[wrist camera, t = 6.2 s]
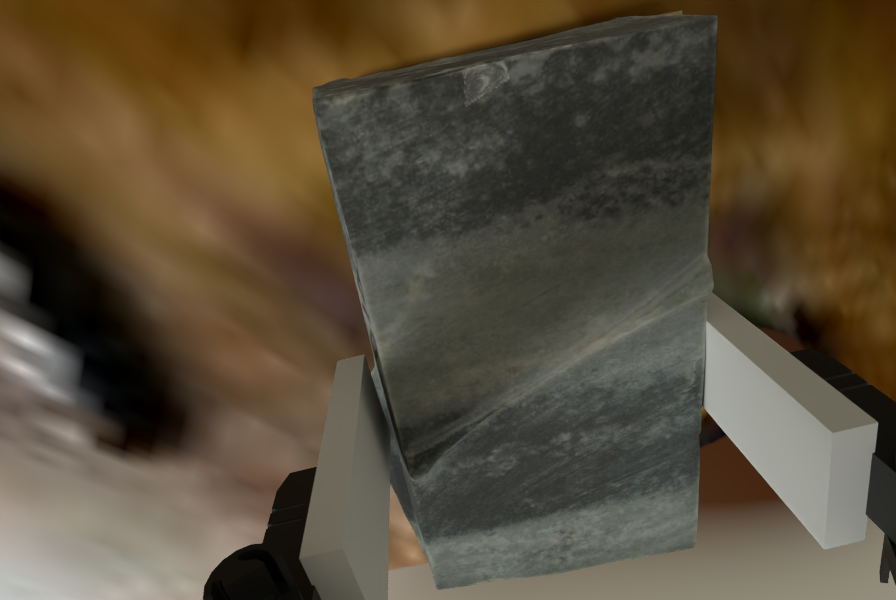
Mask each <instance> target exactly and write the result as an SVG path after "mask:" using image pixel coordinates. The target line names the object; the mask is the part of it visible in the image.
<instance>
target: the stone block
mask: <svg viewBox="0 0 896 600" xmlns="http://www.w3.org/2000/svg"><path fill="white" fill-rule="evenodd" d="M717 26H718V16H716V15H662V16H656V15H654V16H630V17H618V18H615V19H612V20H610V21H606V22H602V23H597V24H592V25H588V26H583V27H578V28H574V29H571V30H567V31H563V32H560V33H556V34H551V35H547V36H542V37H538V38H534V39H529V40H525V41H520V42H516V43H512V44H507V45H503V46H498V47H494V48H489V49H485V50H480V51H476V52H471V53H467V54H463V55H459V56H455V57H445V58H441V59H437V60H433V61H429V62H424V63H421V64H417V65H414V66H411V67H407V68H401V69H398V70H394V71H382V72H379V73H375V74H371V75H367V76H362V77H358V78H353V79H346V78H342V79H337V80H334V81H331V82H328V83H326V84H324V85H322V86H318V87H314V88H313V101H312V102H313V108H314V113H315V119H316V124H317V129H318V134H319V139H320V144H321V148H322V152H323V156H324V160H325V164H326V168H327V172H328V176H329V179H330V183H331V187H332V192H333V196H334V200H335V204H336V208H337V212H338V216H339V219H340V223H341V227H342V231H343V235H344V239H345V243H346V247H347V251H348V255H349V259H350V263H351V266H352V270H353V274H354V278H355V282H356V286H357V290H358V294H359V298H360V302H361V306H362V310H363V314H364V318H365V322H366V326H367V330H368V334H369V338H370V342H371V346H372V351H373V355H374V359H375V367H374V368H373V370H372V372H371V376H372V378H373V381H374V384H375V387H376V390H377V393H378V396H379V399H380V402H381V405H382V408H383V411H384V414H385V417H386V420H387V423H388V426H389V429H390V432H391V452H390V484H391V486H392V487H393V489H394V491H395V493H396V495H397V497H398V499H399V502H400V504H401V506H402V509H403V511H404V513H405V515H406V517H407V519H408V521H409V523H410V525H411V526H412V528H413V530H414V532H415V534H416V537H417V539H418V541H419V543H420V546H421V548H422V550H423V553H424V554H425V555H426V557H427V558H428V561H429V564H430V567H431V570H432V574H433V577H434V581H435V584H436V587H437V589H438V590H439V589H449V588H455V587H462V586H468V585H474V584H480V583H485V582H490V581H497V580H506V579H517V578H527V577H536V576H545V575H553V574H558V573H563V572H568V571H573V570H578V569H582V568H587V567H591V566H596V565H600V564H604V563H609V562H615V561H622V560H628V559H634V558H640V557H646V556H652V555H658V554H663V553H669V552H674V551H679V550H684V549H689V548H692V547H694V545H695V544H696V533H697V516H698V493H699V492H698V490H699V470H700V447H699V433H700V432H701V408H702V395H703V382H704V364H705V343H706V321H707V295H708V294H710V293H711V292H712V289H713V286H714V282H713V275H712V267H711V263H710V261H709V259H708V256H707V244H708V226H709V194H710V180H711V154H712V132H713V115H714V100H715V76H716V51H717Z"/></svg>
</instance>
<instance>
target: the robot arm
mask: <svg viewBox="0 0 896 600" xmlns="http://www.w3.org/2000/svg"><path fill="white" fill-rule="evenodd" d="M702 406H703V407H704V408H705V409H706V411H707V412H708V413H709V414H710V415H711V417H712V418H713V419H714V420H715V421H716V422H717V424H718V425H719V426H720V427H721V428H722V430H723V431H724V432H725V433H726V434H727V435H728V437H729V438H730V439H731V440H732V441H733V442H734V444H735V445H736V446H737V447H738V448H739V450H740V451H741V452H742V453H743V454H744V455H745V457H746V458H747V459H748V460H749V461H750V463H751V464H752V465H753V466H754V467H755V468H756V470H757V471H758V472H759V473H760V474H761V476H762V477H763V478H764V479H765V480H766V481H767V483H768V484H769V485H770V486H771V487H772V489H773V490H774V491H775V492H776V493H777V494H778V496H779V497H780V498H781V499H782V500H783V501H784V503H785V504H786V505H787V506H788V507H789V509H790V510H791V511H792V512H793V513H794V514H795V516H796V517H797V518H798V519H799V520H800V522H801V523H802V524H803V525H804V526H805V527H806V528H807V530H808V531H809V532H810V533H811V534H812V536H813V537H814V538H815V539H816V540H817V541H818V543H819V544H820V545H821V546H822V547H823V549H829V548H833V547H837V546H842V545H846V544H850V543H855V542H859V541H864V540H865V534H866V526H867V517H869V518H870V519H871V520H872V521H873V522H874V523H875V524H876V525H877V526H878V527H879V528H880V529H881V530H882V531H883V532H884V533H885V535H884V543H883V550H882V558H881V565H880V582H882V583H888V578H889V571H890V570H891V573H892V576H893V579H894V581H895V584H896V402H895V401H893V400H892V399H890V398H889V397H888V396H886V395H885V394H883V393H882V392H881V391H879V390H878V389H876V388H875V387H874V386H872V385H868V384H867V382H866V381H865V380H864V379H862V378H861V377H859V376H858V375H857V374H853V373H852V371H851V370H850V369H848V368H847V367H845V366H844V365H843V364H841V363H840V362H838V361H837V360H836V359H834V358H832V357H830V356H827V355H824V354H822V353H819V352H816V351H814V350H811V349H804V350H800V351H795V352H791V353H789V352H787V351H786V350H785V349H783V348H782V347H781V346H780V345H778V344H777V343H776V342H774V341H773V340H772V339H771V338H770V337H768V336H767V335H766V334H764V333H763V332H762V331H761V330H759V329H758V328H757V327H755V326H754V325H753V324H752V323H750V322H749V321H748V320H746V319H745V318H744V317H743V316H741V315H740V314H739V313H738V312H736V311H735V310H734V309H732V308H731V307H730V306H729V305H727V304H726V303H725V302H723V301H722V300H721V299H720V298H718V297H717V296H716V295H714V294H713V293H712V292H711V293H710V294H708V295H707V321H706V343H705V364H704V382H703V395H702ZM390 452H391V432H390V429H389V426H388V423H387V420H386V417H385V414H384V411H383V408H382V405H381V402H380V399H379V396H378V393H377V390H376V387H375V384H374V381H373V378H372V376H371V373H370V370H369V367H368V364H367V361H366V358H365V355H360V356H356V357H352V358H348V359H344V360H340V361H337V366H336V372H335V377H334V382H333V387H332V392H331V397H330V402H329V407H328V413H327V418H326V423H325V428H324V433H323V438H322V443H321V448H320V454H319V459H318V464H317V467H314V468H310V469H305V470H301V471H297V472H293V473H290V474H289V475H288V477H287V478H286V479H285V481H284V482H283V484H282V485H281V486H280V488H279V489H278V490H277V493H276V496H275V500H274V504H273V507H272V513H271V514H270V518H269V522H268V529H266V533H265V536H264V540H263V543H262V544H252V545H249V546H247V547H244V548H242V549H239V550H237V551H235V552H234V553H232V554H231V555H230V556H228V557H227V558H225V559H224V560H223V561H222V562H221V563H220V564H219V565H218V566H217V567H216V568H215V569H214V570H213V572H212V573H211V575H210V576H209V578H208V580H207V582H206V584H205V586H204V595H203V600H388V552H389V502H390Z"/></svg>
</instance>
